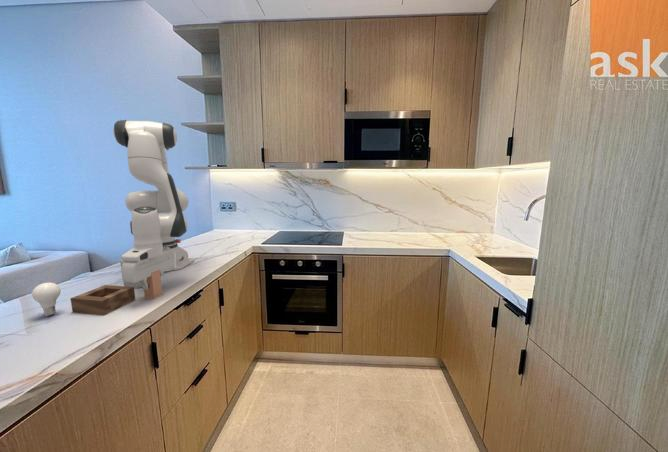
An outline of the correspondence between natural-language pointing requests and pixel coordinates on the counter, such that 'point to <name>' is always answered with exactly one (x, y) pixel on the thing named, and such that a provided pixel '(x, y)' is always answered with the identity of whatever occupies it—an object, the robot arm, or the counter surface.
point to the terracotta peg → (154, 285)
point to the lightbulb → (47, 297)
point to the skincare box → (135, 285)
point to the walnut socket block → (102, 299)
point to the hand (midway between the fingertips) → (152, 285)
